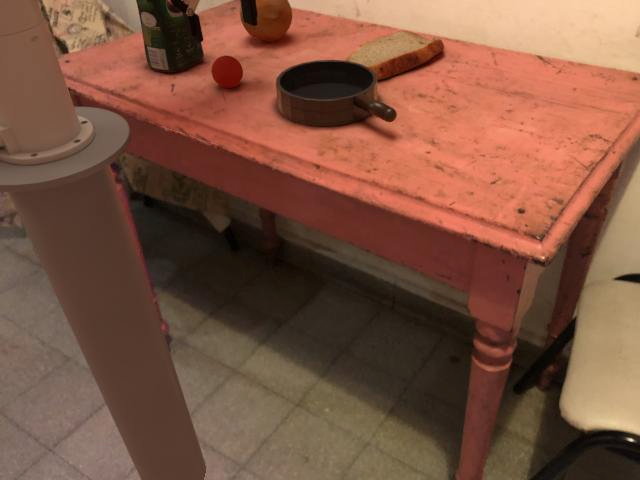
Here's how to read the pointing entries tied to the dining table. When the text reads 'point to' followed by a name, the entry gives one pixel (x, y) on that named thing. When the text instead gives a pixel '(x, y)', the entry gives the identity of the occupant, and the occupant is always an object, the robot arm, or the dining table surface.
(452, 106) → the dining table surface
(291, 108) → the pan
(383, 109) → the pan handle
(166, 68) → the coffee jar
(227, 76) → the ball
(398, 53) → the bread slice
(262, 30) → the onion
